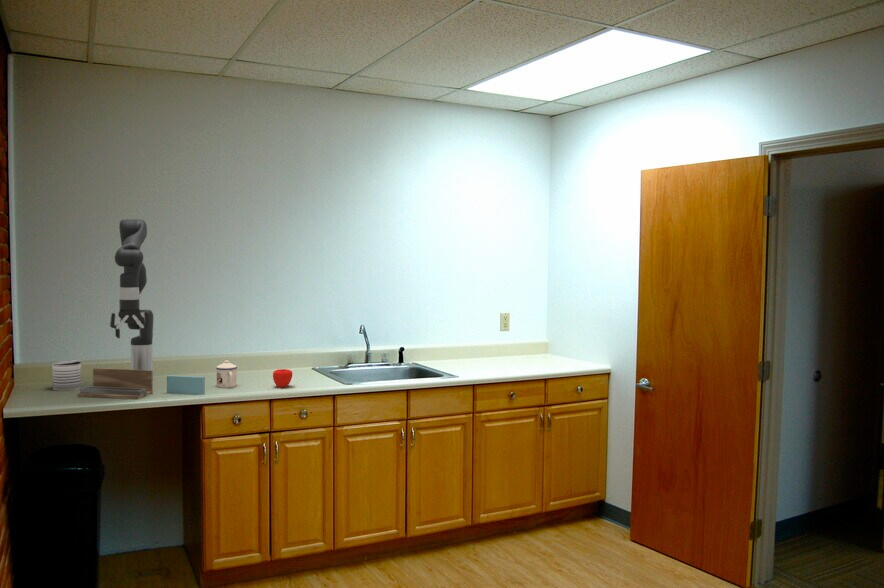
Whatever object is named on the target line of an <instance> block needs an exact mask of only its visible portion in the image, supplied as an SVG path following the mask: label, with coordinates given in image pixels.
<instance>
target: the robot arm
mask: <svg viewBox="0 0 884 588" xmlns="http://www.w3.org/2000/svg"><path fill="white" fill-rule="evenodd" d="M118 228H119V229H118V230H119V235H120V236H119V237H120V243H121V246H120V247H119V248H118V249H117V250H116V252H115V254H114V261H115V264H116V265H117V266H119V267H122V268H123V273H121V274H120V276H119V301H118V302H119V304H118V306H119V308H118V309H119V311H118V313H117V312H116V313H114V312H111V313H110V320H109V321H110V323H109V327H110V328H112V329H114V331H115V333H114V334H115V337H116V338H117V339H120V338H121V333H120V332H121V330H120V327H122V326H123V324H124V323H125V324H127V325H126V326H127V327H128V329H130V330H136V331H137V330H139V335H137V336H135V337H132V338H131V339H130V369H131V370H153V371H154V361H153V336H154V313H153V311H152V310H151V309H140V297H141V296H140V295H141V293H142V292H143V290H144V289H145V288H146V285H147V283H148V282H147V280H148V279H147V267H146V266H145V264H144V254H143V251H141V247H142V244H143V243H144V242H145V240H146V238H147V236H148V235H147V234H148V226H147V222H146V221H145V220H144V219H139V218H138V219H137V218H135V219H134V218H133V219H131V218H130V219H128V218H127V219H121V220H120V221H119V227H118ZM117 317H118V318H119V321H118V322H117V324H115V323H116V322H115V321H116V320H115V319H117Z"/></svg>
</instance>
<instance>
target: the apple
mask: <svg viewBox="0 0 884 588" xmlns="http://www.w3.org/2000/svg"><path fill="white" fill-rule="evenodd" d="M292 377H293V371H292V370H290V369H286V368H280V369H275V370H273V372H272V380H273V382H274V384H275V387H277V388H279V387H280V388H281V389H282V388H286V387H288V385H290V383H291V381H292V379H293V378H292ZM280 388H279V389H280Z"/></svg>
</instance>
